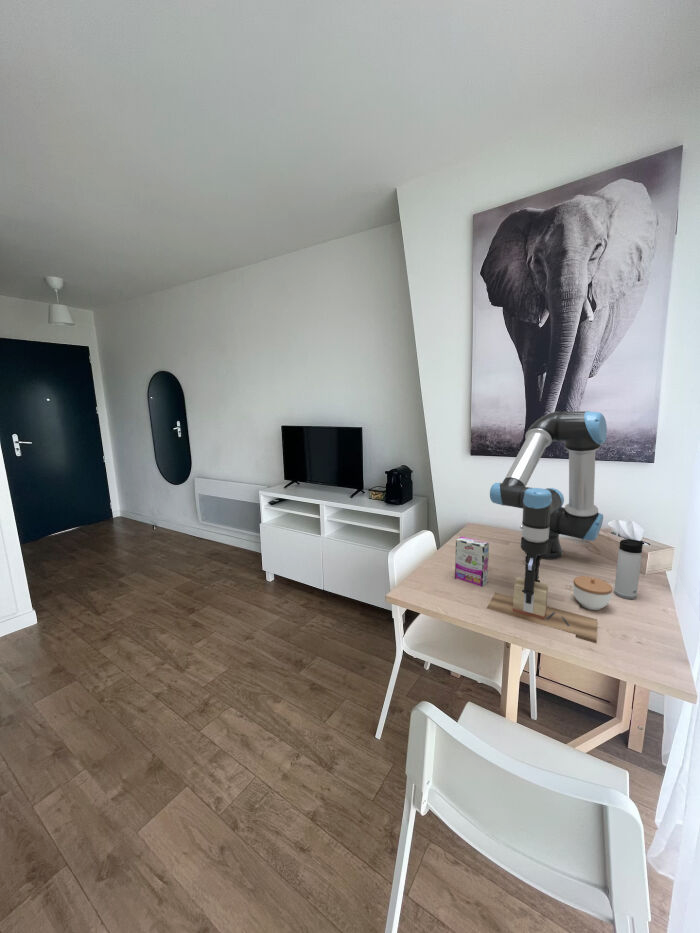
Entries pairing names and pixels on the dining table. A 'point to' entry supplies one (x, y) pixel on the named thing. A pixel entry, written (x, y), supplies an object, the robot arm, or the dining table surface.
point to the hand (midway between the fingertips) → (529, 606)
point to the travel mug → (628, 568)
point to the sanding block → (539, 598)
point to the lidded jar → (592, 592)
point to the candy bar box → (472, 561)
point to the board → (550, 618)
